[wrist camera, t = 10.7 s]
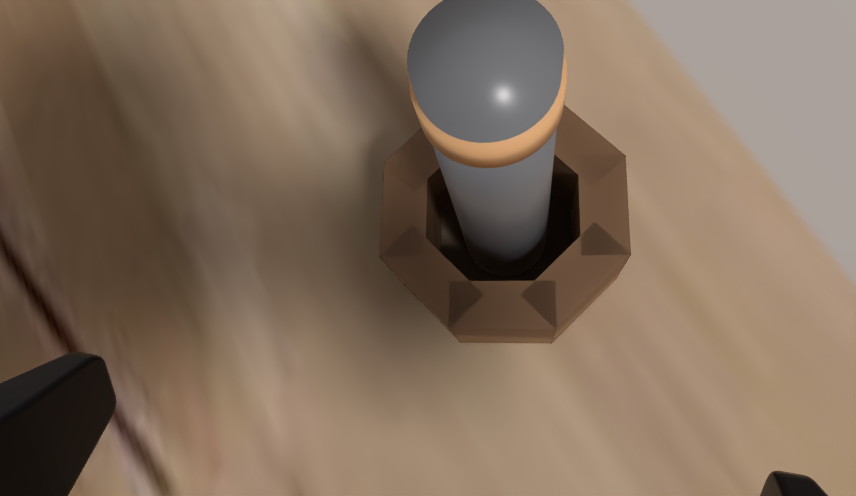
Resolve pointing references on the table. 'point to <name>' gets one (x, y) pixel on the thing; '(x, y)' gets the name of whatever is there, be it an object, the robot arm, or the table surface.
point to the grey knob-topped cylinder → (492, 119)
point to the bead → (510, 300)
